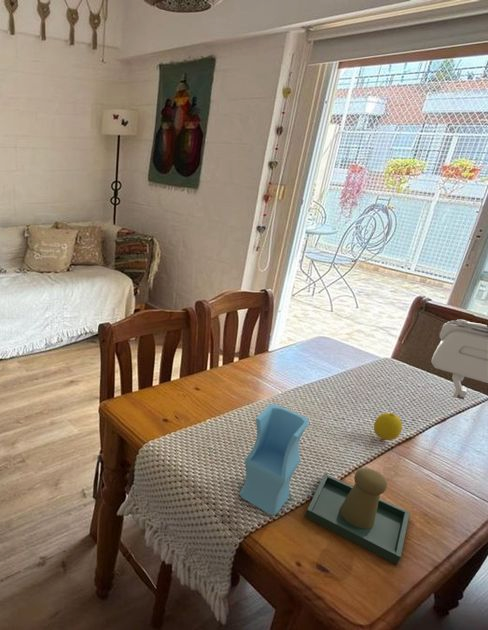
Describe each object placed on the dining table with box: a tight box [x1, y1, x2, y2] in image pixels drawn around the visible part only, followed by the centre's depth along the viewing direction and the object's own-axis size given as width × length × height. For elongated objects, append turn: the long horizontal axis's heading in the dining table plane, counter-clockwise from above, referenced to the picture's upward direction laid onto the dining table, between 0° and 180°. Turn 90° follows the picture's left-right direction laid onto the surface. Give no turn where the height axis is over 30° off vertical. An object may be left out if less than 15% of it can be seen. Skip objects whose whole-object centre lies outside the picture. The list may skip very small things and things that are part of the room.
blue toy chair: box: [239, 403, 311, 516], centre depth 89 cm, size 8×8×20 cm
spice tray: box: [304, 473, 411, 565], centre depth 88 cm, size 16×14×2 cm
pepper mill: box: [340, 467, 388, 529], centre depth 86 cm, size 6×6×11 cm
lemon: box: [373, 412, 403, 441], centre depth 110 cm, size 6×6×8 cm
